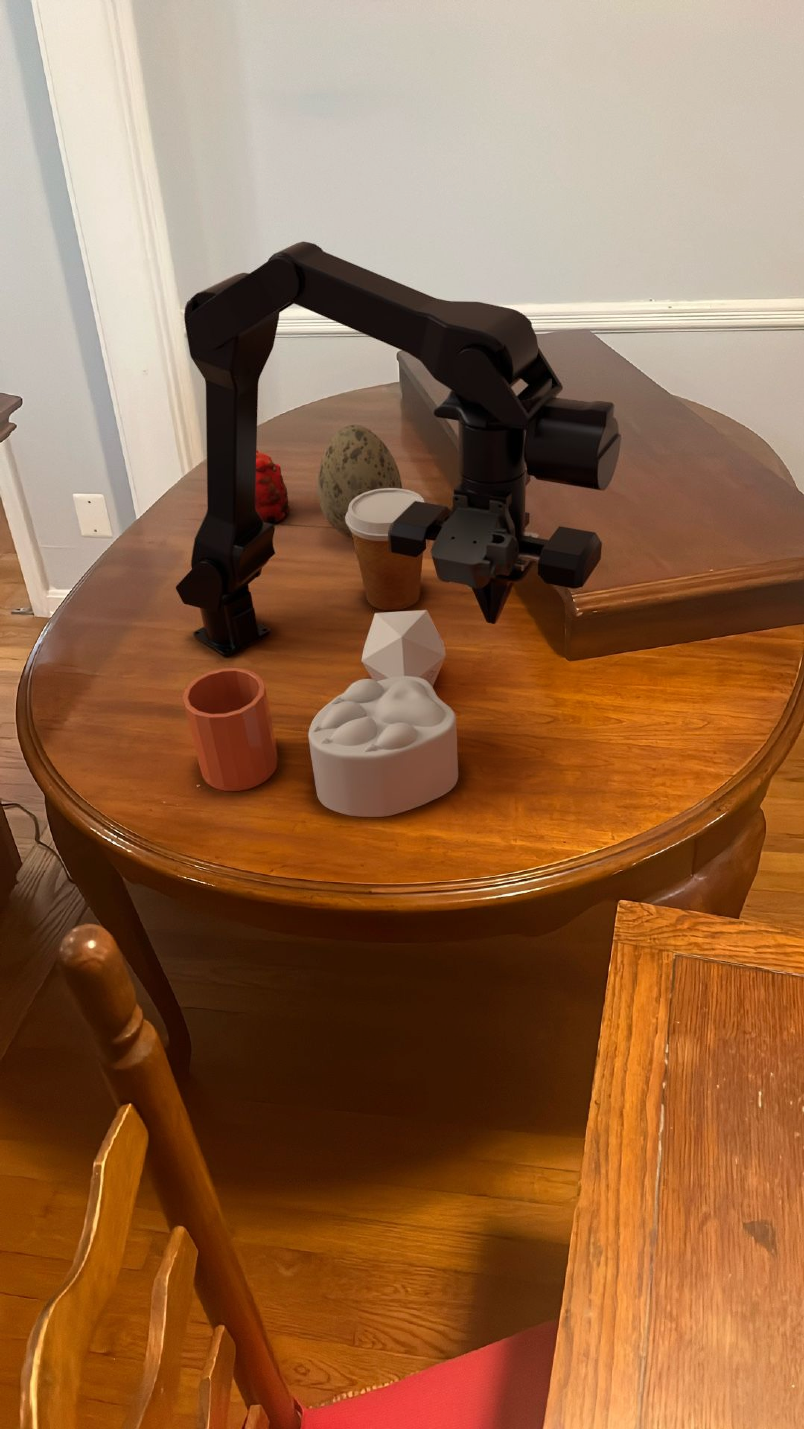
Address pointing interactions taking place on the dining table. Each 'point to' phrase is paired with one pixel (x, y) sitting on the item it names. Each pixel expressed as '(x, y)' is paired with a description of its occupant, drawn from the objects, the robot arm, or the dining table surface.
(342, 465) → the decorative egg
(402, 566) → the disposable coffee cup
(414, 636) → the die
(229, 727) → the terracotta cup
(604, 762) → the dining table surface
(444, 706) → the lumpy-topped squat cylinder
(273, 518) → the red bumpy tall lump
